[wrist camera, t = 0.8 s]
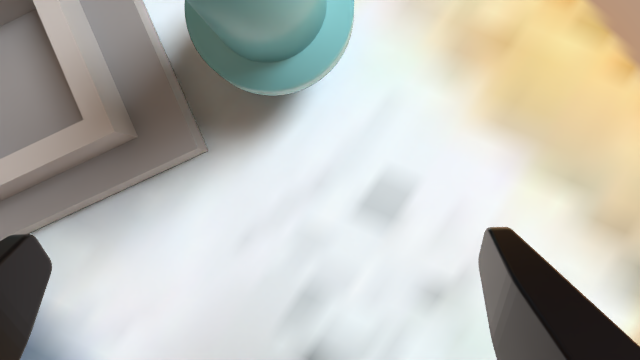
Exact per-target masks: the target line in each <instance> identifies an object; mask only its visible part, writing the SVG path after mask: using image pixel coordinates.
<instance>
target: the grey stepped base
mask: <svg viewBox="0 0 640 360" xmlns="http://www.w3.org/2000/svg"><path fill="white" fill-rule="evenodd" d="M207 151H208V149H207V147H206V144H205V142H204V140H203V137H202V135H201V133H200V131H199V128H198V126H197V124H196V121H195V119H194V117H193V115H192V112H191V110H190V108H189V105H188V103H187V101H186V99H185V96H184V94H183V92H182V89H181V87H180V85H179V83H178V80H177V78H176V76H175V73H174V71H173V69H172V67H171V64H170V62H169V60H168V57H167V55H166V53H165V50H164V48H163V46H162V44H161V41H160V39H159V37H158V34H157V32H156V30H155V28H154V25H153V23H152V21H151V18H150V16H149V14H148V12H147V9H146V7H145V5H144V2H143V0H0V241H1V240H3V239H4V238H6V237H7V236H10V235H14V234H28V233H30V232H33V231H35V230H37V229H39V228H41V227H44V226H46V225H48V224H50V223H52V222H54V221H57V220H59V219H61V218H63V217H65V216H67V215H70V214H72V213H74V212H76V211H78V210H80V209H83V208H85V207H87V206H89V205H91V204H94V203H96V202H98V201H100V200H102V199H104V198H107V197H109V196H111V195H113V194H115V193H117V192H120V191H122V190H124V189H126V188H128V187H130V186H133V185H135V184H137V183H139V182H141V181H144V180H146V179H148V178H150V177H152V176H154V175H157V174H159V173H161V172H163V171H165V170H167V169H170V168H172V167H174V166H176V165H178V164H181V163H183V162H185V161H187V160H189V159H191V158H194V157H196V156H198V155H200V154H202V153H204V152H207Z"/></svg>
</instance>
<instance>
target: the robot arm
mask: <svg viewBox="0 0 640 360" xmlns="http://www.w3.org/2000/svg"><path fill="white" fill-rule="evenodd" d="M51 271H52V263H51V260H50V258H49V257H48V255H47V254H46V252H45V251H44V249H43V248H42V246H41V245H40V243H39V241H38V240H37V239H36V237H34V236H33V235H30V234H14V235H10V236H7V237H6V238H4V239H3V240H1V241H0V360H20V358H21V356H22V354H23V351H24V349H25V347H26V344H27V342H28V339H29V337H30V334H31V331H32V328H33V325H34V322H35V319H36V316H37V313H38V310H39V307H40V304H41V301H42V298H43V295H44V292H45V289H46V286H47V283H48V280H49V277H50V274H51ZM479 271H480V277H481V282H482V288H483V294H484V299H485V305H486V311H487V317H488V322H489V328H490V333H491V338H492V343H493V347H494V350H495V354H496V357H497V360H640V346H639V345H637V344H636V343H635V342H634V341H633V340H632V339H631V338H630V337H629V336H628V335H627V334H625V333H624V332H623V331H622V330H621V329H620V328H619V327H618V326H617V325H616V324H615V323H613V322H612V321H611V320H610V319H609V318H608V317H607V316H606V315H605V314H604V313H603V312H601V311H600V310H599V309H598V308H597V307H596V306H595V305H594V304H593V303H592V302H591V301H589V300H588V299H587V298H586V297H585V296H584V295H583V294H582V293H581V292H580V291H579V290H577V289H576V288H575V287H574V286H573V285H572V284H571V283H570V282H569V281H568V280H567V279H565V278H564V277H563V276H562V275H561V274H560V273H559V272H558V271H557V270H556V269H555V268H553V267H552V266H551V265H550V264H549V263H548V262H547V261H546V260H545V259H544V258H543V257H541V256H540V255H539V254H538V253H537V252H536V251H535V250H534V249H533V248H532V247H531V246H529V245H528V244H527V243H526V242H525V241H524V240H523V239H522V238H521V237H520V236H519V235H517V234H516V233H515V232H514V231H513V230H512V229H510V228H508V227H490V228H487V229H486V231H485V233H484V237H483V241H482V245H481V249H480V254H479Z"/></svg>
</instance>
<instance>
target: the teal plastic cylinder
mask: <svg viewBox="0 0 640 360" xmlns="http://www.w3.org/2000/svg"><path fill="white" fill-rule="evenodd" d="M185 18H186V24H187V28H188V31H189V34H190V37H191V40H192V42H193V44H194V46H195V48H196V50H197V51H198V53H199V54H200V56H201V57H202V58H203V59H204V61H205V62H206V63H207V64H208V65H209V66H210V67H211V68H212V69H213V70H215V71H216V72H217V73H218V74H219V75H220V76H222V77H223V78H224V79H225V80H227V81H228V82H230V83H231V84H233V85H234V86H236V87H238V88H240V89H242V90H245V91H248V92H251V93H254V94H260V95H270V96H276V95H286V94H290V93H295V92H298V91H300V90H303V89H305V88H307V87H309V86H311V85H313V84H315V83H316V82H318V81H319V80H321V79H322V78H323V77H324V76H325V75H327V74H328V73H329V72H330V71H331V70H332V69H333V67H334V66H335V65H336V64H337V63H338V61H339V60H340V58H341V57H342V55H343V53H344V51H345V49H346V47H347V45H348V42H349V39H350V36H351V33H352V28H353V19H354V0H185Z"/></svg>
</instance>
